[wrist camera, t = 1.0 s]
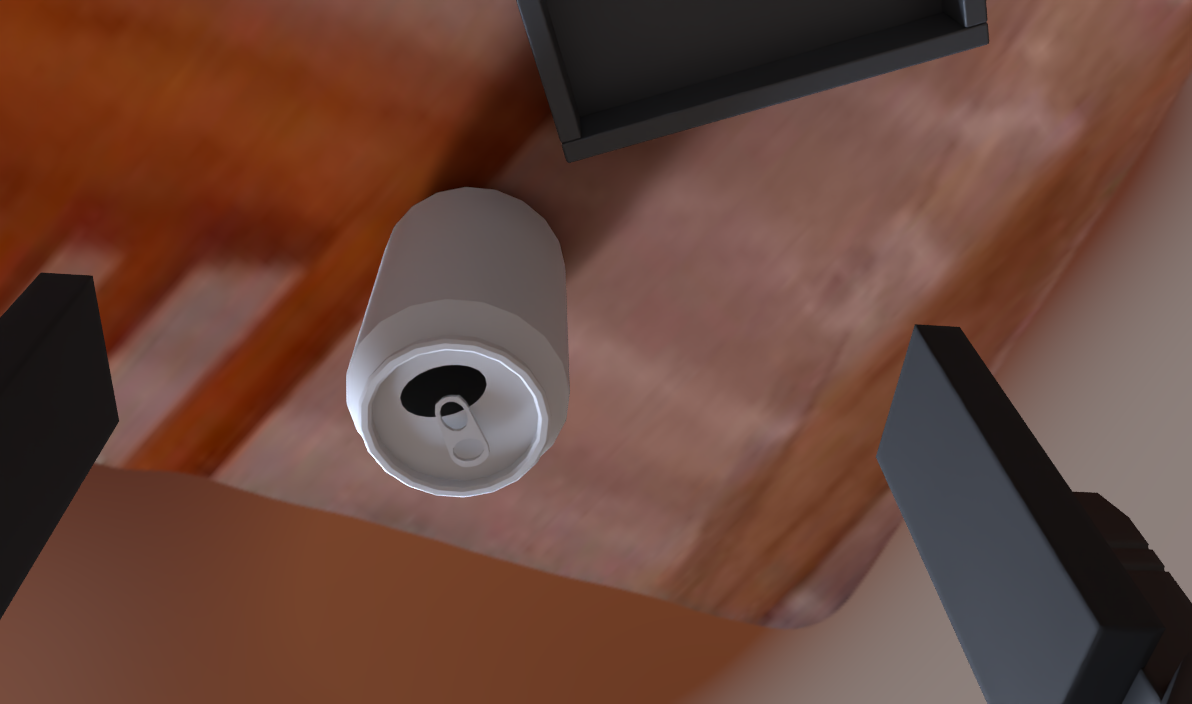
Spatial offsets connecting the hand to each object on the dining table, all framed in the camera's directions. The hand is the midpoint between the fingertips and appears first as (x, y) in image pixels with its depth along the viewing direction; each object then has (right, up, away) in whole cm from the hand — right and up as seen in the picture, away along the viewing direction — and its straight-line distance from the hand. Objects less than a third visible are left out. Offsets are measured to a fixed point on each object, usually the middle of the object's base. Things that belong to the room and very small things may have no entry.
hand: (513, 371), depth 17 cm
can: (-4, +4, +27) cm, 27 cm away
